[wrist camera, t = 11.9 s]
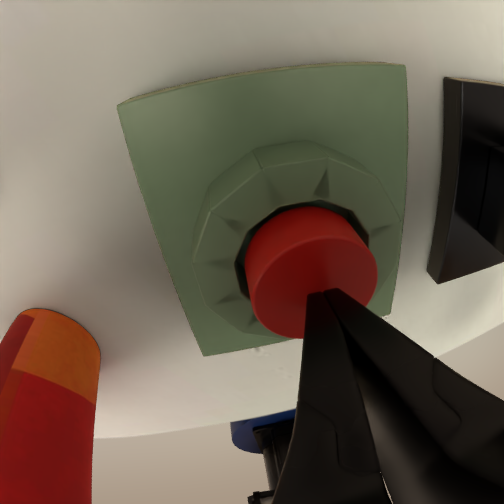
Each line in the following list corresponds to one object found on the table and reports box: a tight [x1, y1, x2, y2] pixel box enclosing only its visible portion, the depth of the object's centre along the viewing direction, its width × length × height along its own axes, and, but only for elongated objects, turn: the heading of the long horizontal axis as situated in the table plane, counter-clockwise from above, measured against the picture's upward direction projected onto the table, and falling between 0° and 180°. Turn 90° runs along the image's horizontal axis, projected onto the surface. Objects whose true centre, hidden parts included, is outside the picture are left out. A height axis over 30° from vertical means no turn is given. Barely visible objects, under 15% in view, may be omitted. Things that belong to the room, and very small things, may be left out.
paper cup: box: [0, 309, 100, 504], centre depth 9 cm, size 8×8×14 cm
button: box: [244, 206, 378, 339], centre depth 9 cm, size 4×4×2 cm
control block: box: [117, 62, 408, 356], centre depth 11 cm, size 11×9×4 cm
